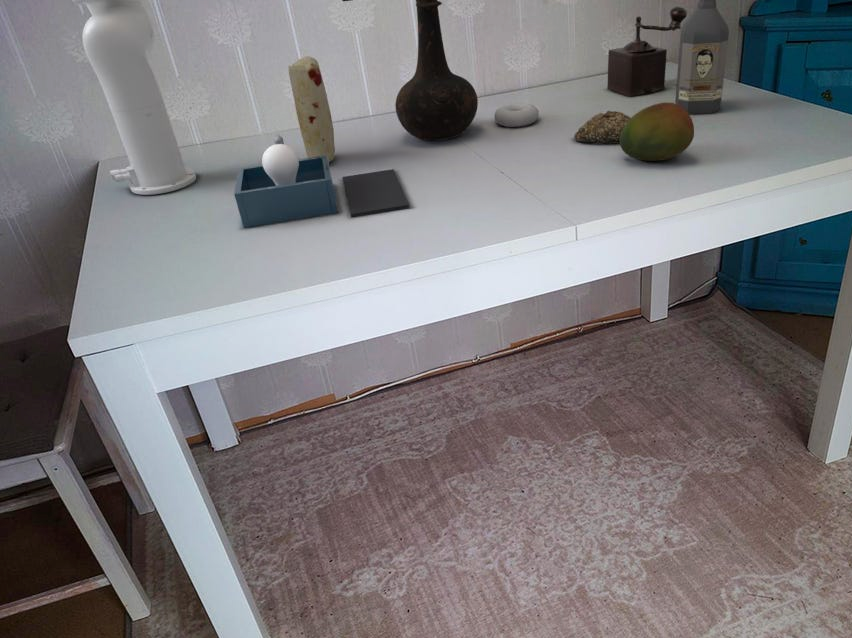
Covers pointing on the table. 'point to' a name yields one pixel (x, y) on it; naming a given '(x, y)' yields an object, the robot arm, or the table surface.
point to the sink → (285, 193)
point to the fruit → (657, 132)
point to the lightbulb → (281, 164)
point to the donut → (516, 114)
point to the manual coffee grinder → (641, 61)
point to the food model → (312, 108)
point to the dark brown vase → (434, 86)
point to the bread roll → (603, 128)
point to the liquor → (702, 60)
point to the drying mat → (374, 193)
